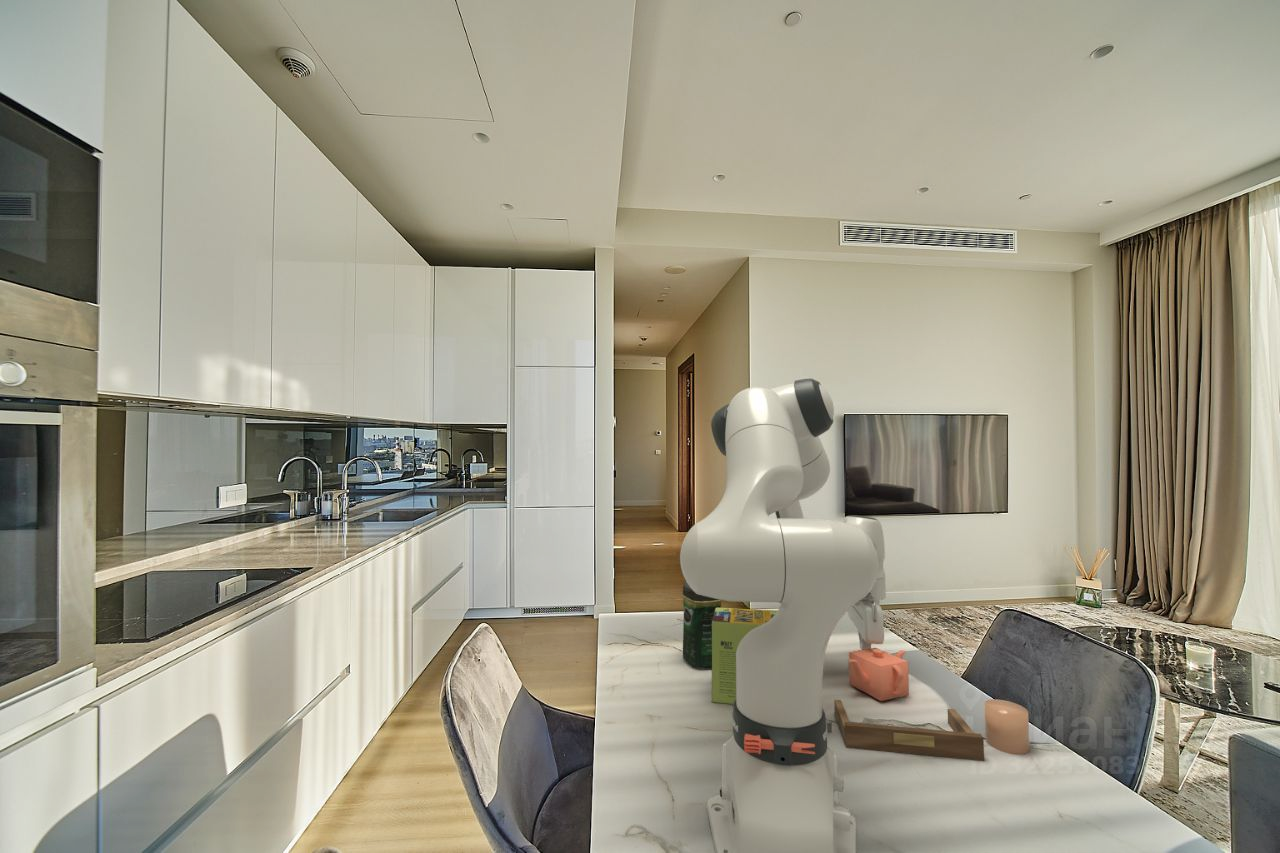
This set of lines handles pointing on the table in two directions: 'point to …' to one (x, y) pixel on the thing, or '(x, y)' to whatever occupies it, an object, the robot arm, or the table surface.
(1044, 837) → the table surface
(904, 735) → the display bay
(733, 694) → the protein box
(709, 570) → the robot arm
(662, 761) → the table surface
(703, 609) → the coffee jar
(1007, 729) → the peach rounded cylinder
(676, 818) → the table surface
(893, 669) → the teapot
